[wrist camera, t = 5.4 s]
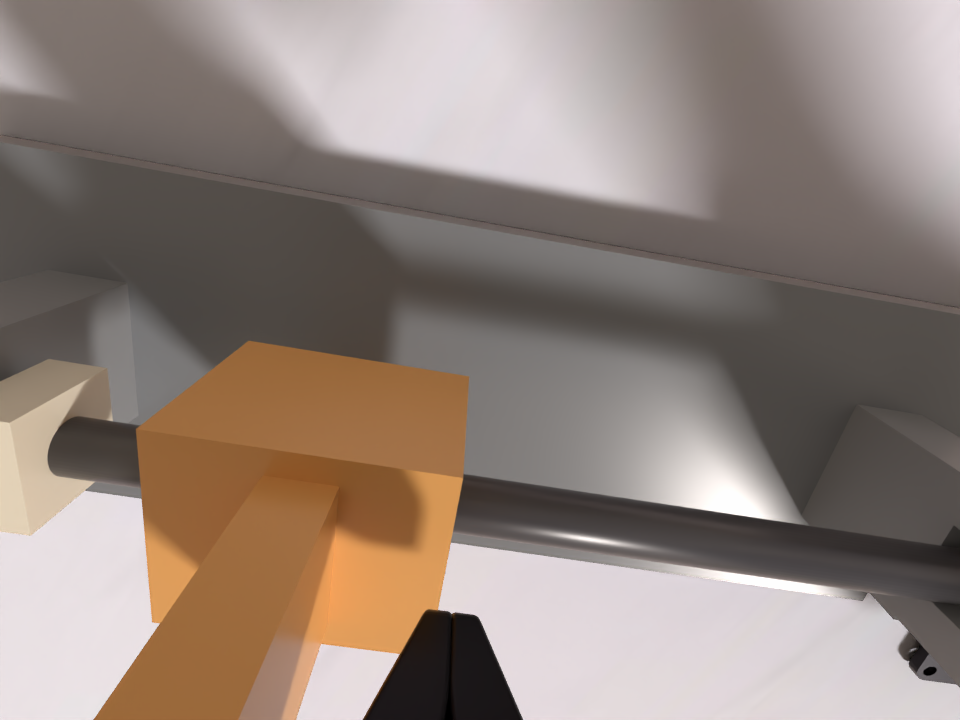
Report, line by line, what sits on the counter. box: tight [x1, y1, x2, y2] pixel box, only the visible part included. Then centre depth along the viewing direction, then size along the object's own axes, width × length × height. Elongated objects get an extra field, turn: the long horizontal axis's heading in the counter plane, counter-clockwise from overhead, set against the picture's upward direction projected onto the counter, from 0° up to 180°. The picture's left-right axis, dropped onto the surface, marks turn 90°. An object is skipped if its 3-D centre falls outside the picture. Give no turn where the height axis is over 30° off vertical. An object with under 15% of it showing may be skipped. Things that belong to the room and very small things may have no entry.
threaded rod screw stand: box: [0, 135, 960, 687], centre depth 13 cm, size 29×10×8 cm, turn 80°
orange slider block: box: [94, 341, 469, 720], centre depth 8 cm, size 5×4×8 cm
